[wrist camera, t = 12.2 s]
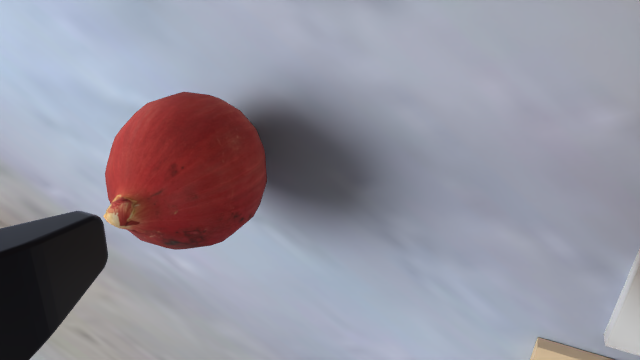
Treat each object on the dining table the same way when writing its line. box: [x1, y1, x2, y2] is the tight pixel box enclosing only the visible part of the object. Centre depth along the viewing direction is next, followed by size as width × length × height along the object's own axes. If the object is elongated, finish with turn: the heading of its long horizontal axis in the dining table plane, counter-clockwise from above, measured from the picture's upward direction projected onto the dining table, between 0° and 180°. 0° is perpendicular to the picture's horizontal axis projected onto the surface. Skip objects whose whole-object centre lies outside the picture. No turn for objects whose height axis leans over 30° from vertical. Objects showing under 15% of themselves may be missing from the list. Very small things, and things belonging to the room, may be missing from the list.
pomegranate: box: [104, 92, 267, 249], centre depth 20 cm, size 6×6×8 cm
